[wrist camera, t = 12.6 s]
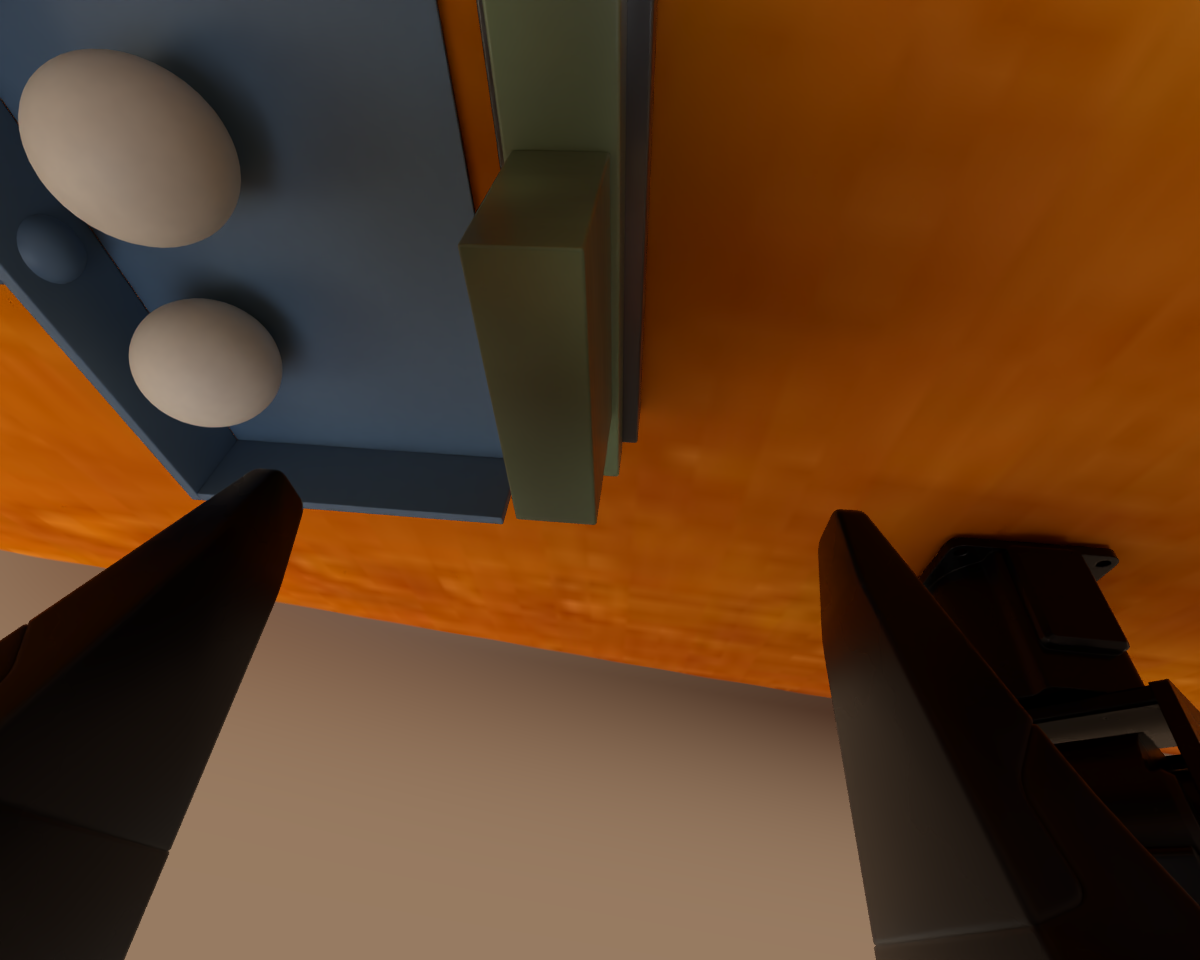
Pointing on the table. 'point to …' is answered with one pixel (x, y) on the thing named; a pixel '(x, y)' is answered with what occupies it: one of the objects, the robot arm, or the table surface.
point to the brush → (564, 243)
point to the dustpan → (285, 247)
